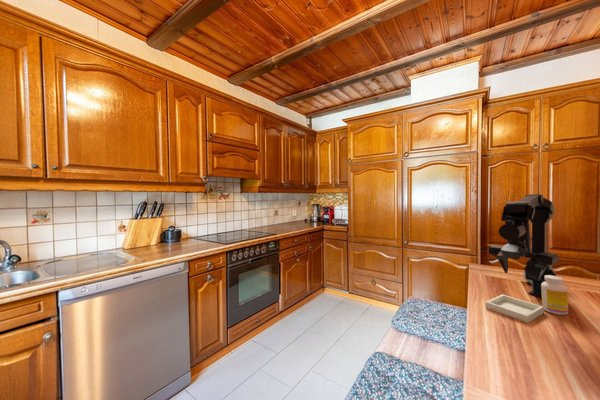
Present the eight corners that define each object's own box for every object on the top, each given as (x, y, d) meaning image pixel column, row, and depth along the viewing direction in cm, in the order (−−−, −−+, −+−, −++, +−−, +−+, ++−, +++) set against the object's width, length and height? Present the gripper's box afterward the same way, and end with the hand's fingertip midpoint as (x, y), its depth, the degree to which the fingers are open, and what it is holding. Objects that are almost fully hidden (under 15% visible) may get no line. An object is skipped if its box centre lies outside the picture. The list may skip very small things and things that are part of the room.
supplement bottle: (574, 316, 83) (573, 280, 83) (552, 315, 84) (550, 280, 84) (557, 307, 89) (556, 274, 89) (537, 306, 91) (536, 274, 90)
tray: (502, 300, 97) (502, 294, 97) (544, 313, 86) (543, 306, 86) (485, 308, 92) (485, 301, 92) (527, 323, 80) (527, 316, 80)
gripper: (478, 235, 92) (480, 273, 92) (543, 243, 75) (545, 290, 75) (494, 231, 96) (496, 268, 97) (558, 237, 79) (560, 282, 80)
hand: (521, 276), depth 87 cm, fingers open, 9 cm apart
